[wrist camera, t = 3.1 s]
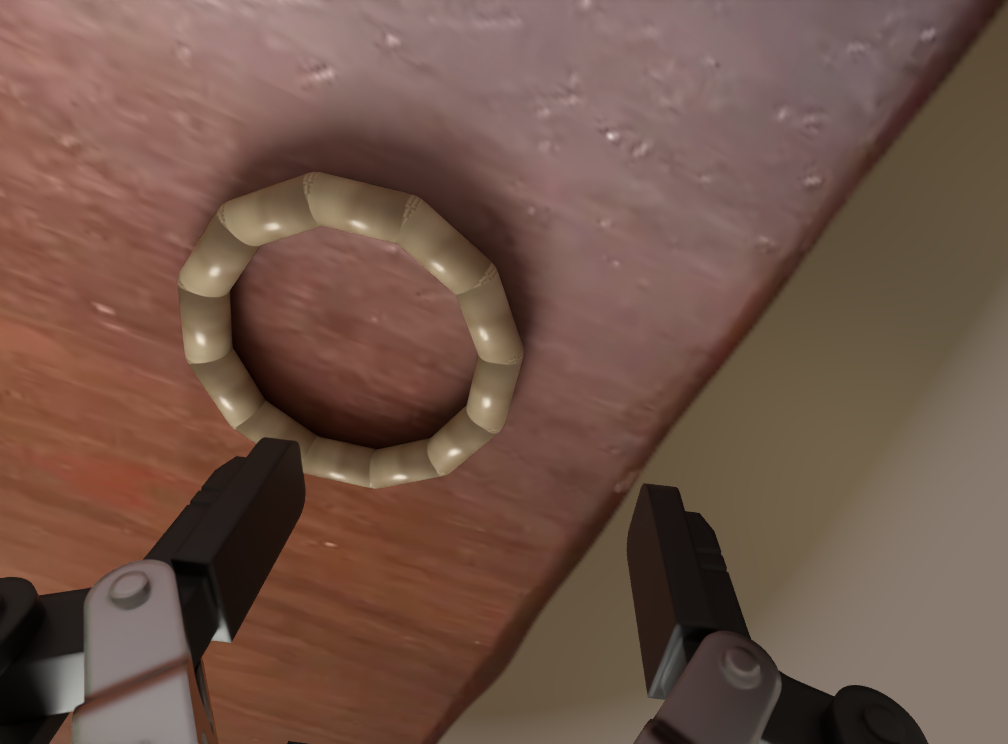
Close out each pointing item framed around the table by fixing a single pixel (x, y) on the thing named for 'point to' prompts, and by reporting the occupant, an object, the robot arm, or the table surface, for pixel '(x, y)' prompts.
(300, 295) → the table surface
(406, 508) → the table surface
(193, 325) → the ring
